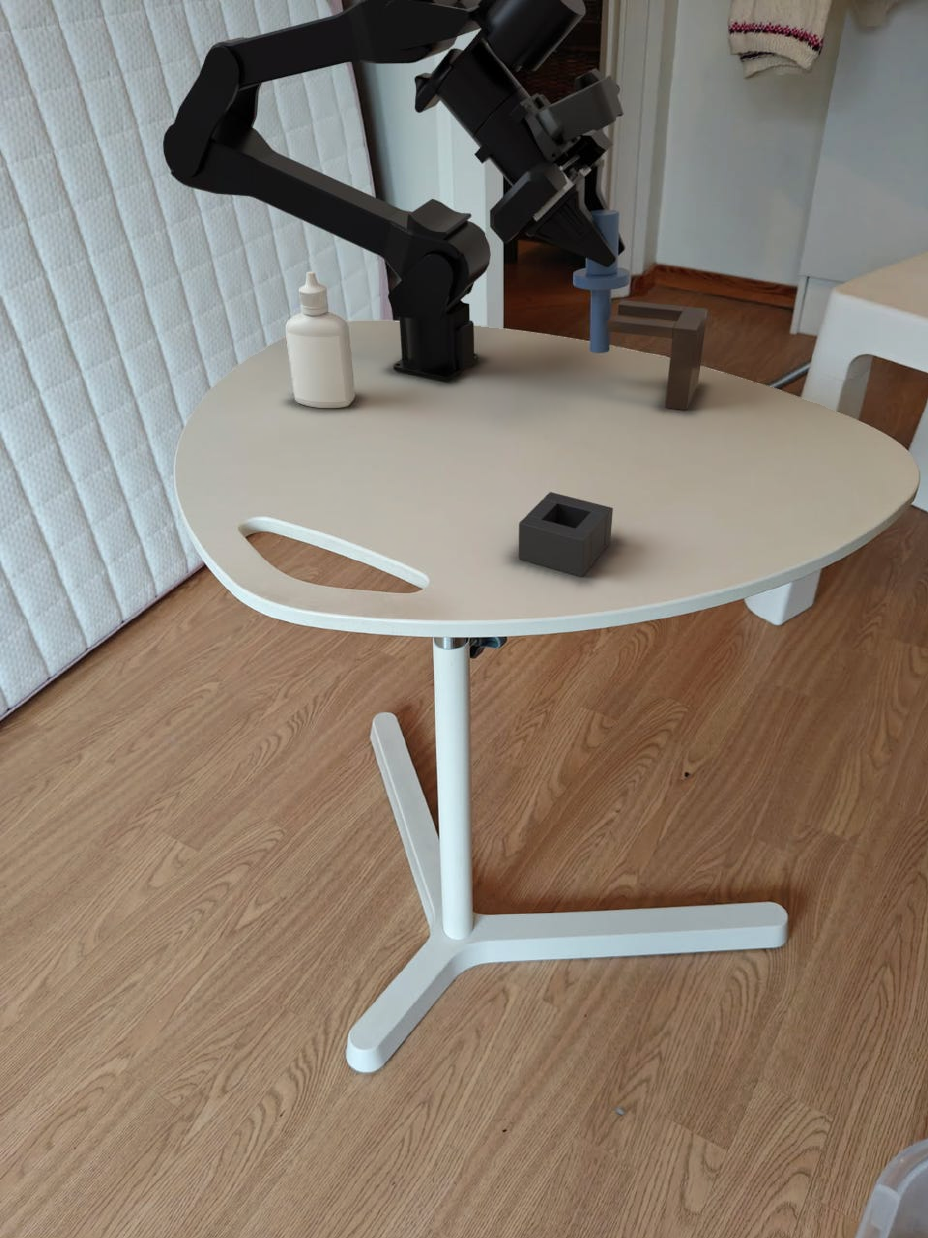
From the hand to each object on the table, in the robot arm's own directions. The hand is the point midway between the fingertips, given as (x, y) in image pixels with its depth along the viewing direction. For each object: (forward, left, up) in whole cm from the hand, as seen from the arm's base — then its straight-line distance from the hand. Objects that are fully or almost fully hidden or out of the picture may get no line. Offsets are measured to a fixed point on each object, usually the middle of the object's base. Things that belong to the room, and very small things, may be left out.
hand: (617, 258), depth 86 cm
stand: (+5, +1, -12) cm, 13 cm away
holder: (+9, -28, -12) cm, 31 cm away
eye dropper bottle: (-22, -15, -12) cm, 30 cm away
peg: (-1, -1, -8) cm, 8 cm away
